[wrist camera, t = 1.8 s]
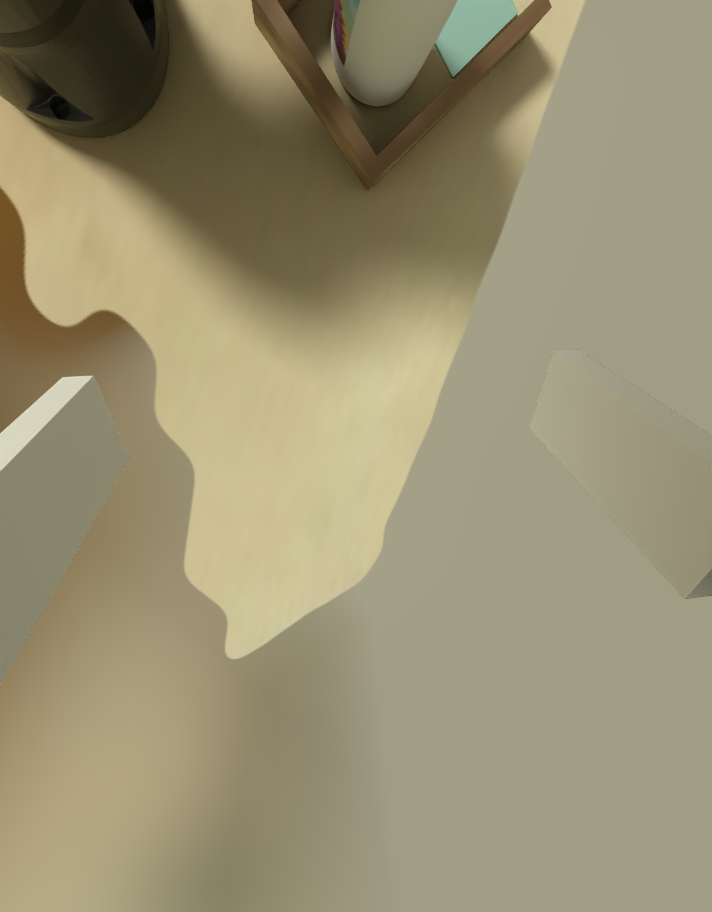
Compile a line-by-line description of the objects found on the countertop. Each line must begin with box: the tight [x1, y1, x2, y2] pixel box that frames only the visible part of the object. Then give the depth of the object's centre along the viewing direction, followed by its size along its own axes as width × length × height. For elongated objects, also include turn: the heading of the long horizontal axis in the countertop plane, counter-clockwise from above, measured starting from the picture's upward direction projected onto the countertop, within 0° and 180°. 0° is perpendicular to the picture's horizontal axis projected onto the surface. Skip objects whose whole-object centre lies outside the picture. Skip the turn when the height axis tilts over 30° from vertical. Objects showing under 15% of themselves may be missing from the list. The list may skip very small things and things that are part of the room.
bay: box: [252, 0, 551, 190], centre depth 30 cm, size 14×18×4 cm
